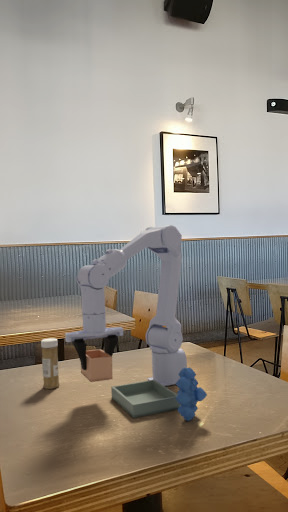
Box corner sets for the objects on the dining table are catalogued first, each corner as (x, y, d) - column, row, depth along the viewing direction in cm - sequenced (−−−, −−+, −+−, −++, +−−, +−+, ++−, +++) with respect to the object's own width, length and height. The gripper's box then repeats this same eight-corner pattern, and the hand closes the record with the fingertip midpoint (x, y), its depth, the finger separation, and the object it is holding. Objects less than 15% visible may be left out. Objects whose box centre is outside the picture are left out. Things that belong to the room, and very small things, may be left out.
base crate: (154, 390, 119) (153, 379, 118) (180, 408, 105) (180, 396, 105) (111, 398, 114) (111, 386, 114) (133, 418, 100) (133, 405, 100)
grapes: (203, 433, 91) (201, 374, 91) (171, 429, 93) (169, 373, 93) (212, 412, 102) (210, 360, 102) (183, 409, 104) (181, 358, 104)
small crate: (101, 370, 116) (101, 349, 116) (112, 379, 108) (112, 356, 108) (80, 372, 114) (80, 351, 114) (90, 382, 106) (90, 359, 106)
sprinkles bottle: (61, 387, 125) (60, 339, 124) (46, 390, 122) (44, 341, 122) (55, 383, 128) (53, 337, 128) (40, 386, 126) (38, 339, 126)
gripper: (68, 318, 104) (71, 375, 105) (126, 312, 110) (128, 366, 110) (62, 314, 111) (64, 368, 111) (117, 309, 116) (119, 360, 117)
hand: (96, 367), depth 111 cm, fingers closed on small crate, 5 cm apart
